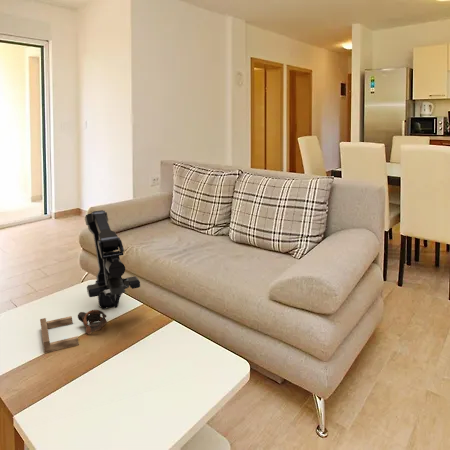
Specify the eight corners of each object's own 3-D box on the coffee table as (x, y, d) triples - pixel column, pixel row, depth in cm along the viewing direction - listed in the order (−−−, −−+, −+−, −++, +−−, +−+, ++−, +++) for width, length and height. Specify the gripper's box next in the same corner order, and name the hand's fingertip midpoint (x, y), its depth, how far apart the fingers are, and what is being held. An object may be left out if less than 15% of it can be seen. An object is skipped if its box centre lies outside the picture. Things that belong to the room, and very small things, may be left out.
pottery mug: (112, 322, 162) (111, 310, 157) (101, 343, 156) (99, 331, 150) (84, 313, 164) (81, 301, 158) (71, 334, 157) (68, 322, 151)
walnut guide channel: (72, 322, 163) (70, 312, 162) (78, 344, 146) (77, 334, 145) (41, 328, 158) (39, 319, 157) (44, 353, 142) (43, 342, 141)
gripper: (89, 280, 145) (94, 322, 149) (142, 270, 152) (145, 310, 156) (84, 270, 154) (89, 309, 158) (134, 261, 162) (138, 299, 166)
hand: (116, 307), depth 160 cm, fingers closed
